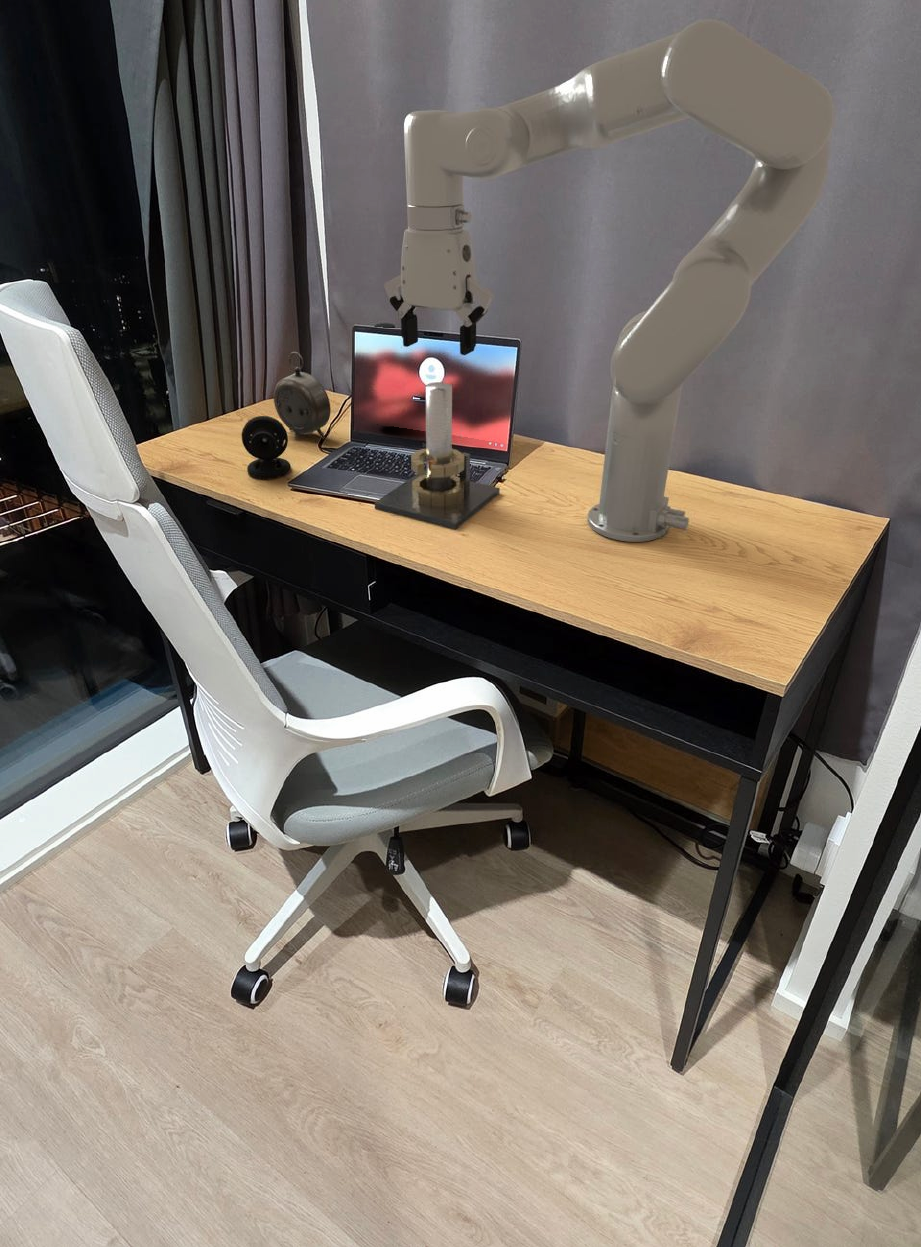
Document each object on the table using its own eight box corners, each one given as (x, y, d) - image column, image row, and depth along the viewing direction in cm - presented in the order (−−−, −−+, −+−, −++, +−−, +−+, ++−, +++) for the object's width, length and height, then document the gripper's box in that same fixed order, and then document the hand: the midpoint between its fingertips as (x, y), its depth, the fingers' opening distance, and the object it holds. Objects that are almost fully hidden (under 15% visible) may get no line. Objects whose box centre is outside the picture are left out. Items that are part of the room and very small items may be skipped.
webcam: (245, 481, 137) (236, 425, 131) (249, 464, 143) (240, 409, 137) (290, 479, 138) (283, 423, 132) (292, 462, 144) (286, 408, 138)
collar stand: (499, 493, 133) (500, 450, 129) (455, 529, 122) (455, 484, 118) (423, 475, 139) (422, 433, 135) (374, 508, 128) (372, 464, 124)
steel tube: (434, 488, 132) (434, 380, 122) (455, 493, 131) (456, 385, 120) (421, 497, 129) (420, 388, 119) (442, 503, 128) (443, 392, 117)
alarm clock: (334, 438, 153) (327, 353, 144) (316, 447, 149) (307, 360, 140) (292, 427, 158) (282, 344, 149) (273, 435, 154) (261, 350, 145)
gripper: (505, 219, 106) (502, 349, 116) (396, 212, 113) (402, 335, 123) (478, 226, 101) (478, 363, 110) (366, 219, 108) (375, 347, 118)
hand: (438, 348), depth 117 cm, fingers open, 9 cm apart
